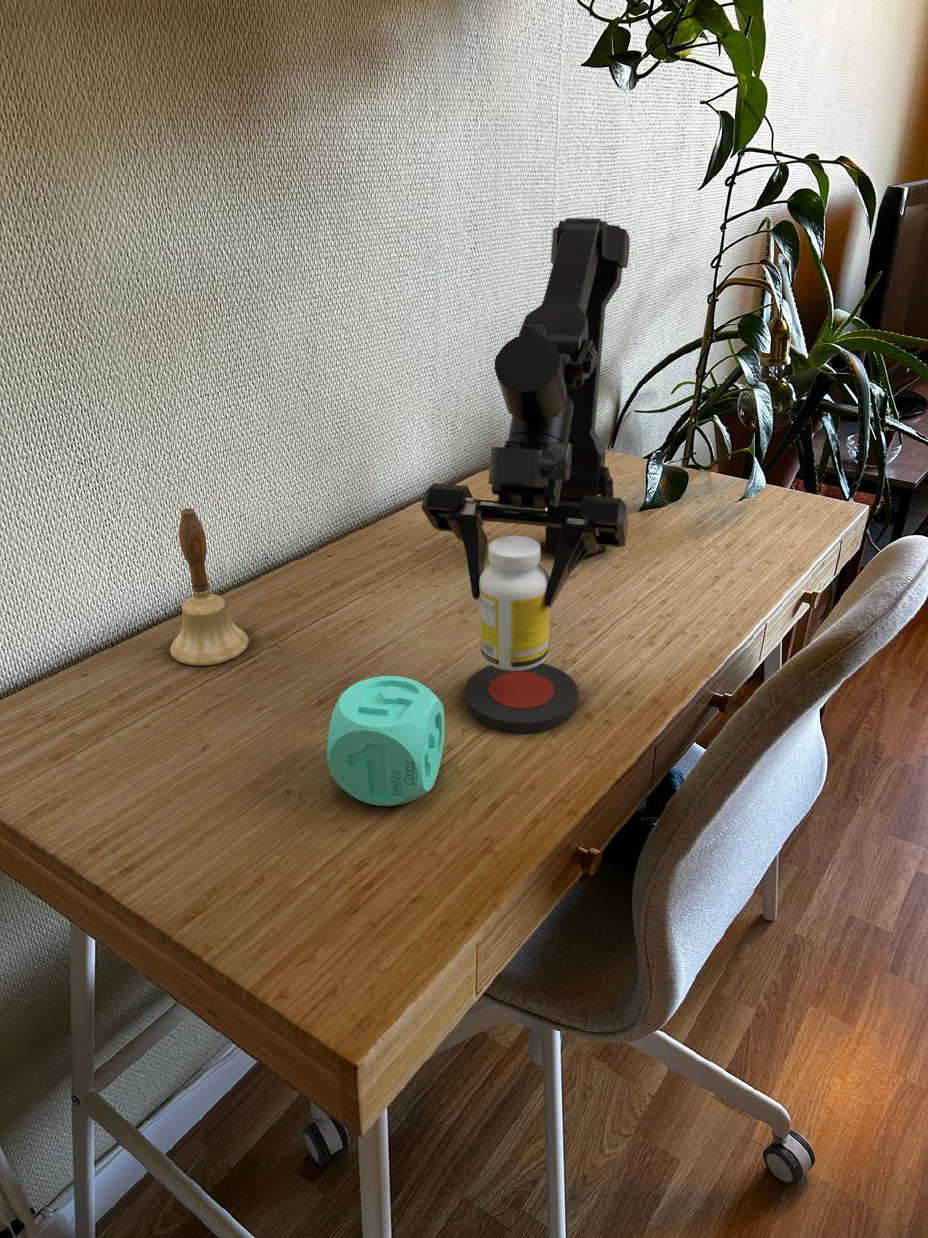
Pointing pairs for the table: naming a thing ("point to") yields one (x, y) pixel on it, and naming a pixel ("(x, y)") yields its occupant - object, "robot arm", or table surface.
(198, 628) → the hand bell
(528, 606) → the pill bottle
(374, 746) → the decorative dice
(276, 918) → the table surface
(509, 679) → the disc
